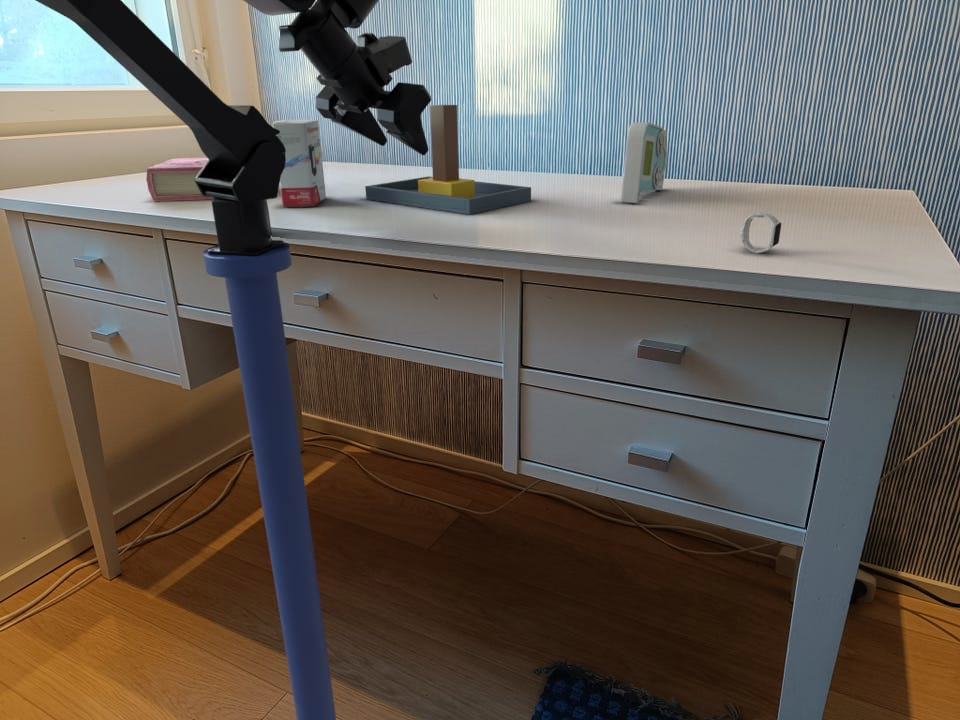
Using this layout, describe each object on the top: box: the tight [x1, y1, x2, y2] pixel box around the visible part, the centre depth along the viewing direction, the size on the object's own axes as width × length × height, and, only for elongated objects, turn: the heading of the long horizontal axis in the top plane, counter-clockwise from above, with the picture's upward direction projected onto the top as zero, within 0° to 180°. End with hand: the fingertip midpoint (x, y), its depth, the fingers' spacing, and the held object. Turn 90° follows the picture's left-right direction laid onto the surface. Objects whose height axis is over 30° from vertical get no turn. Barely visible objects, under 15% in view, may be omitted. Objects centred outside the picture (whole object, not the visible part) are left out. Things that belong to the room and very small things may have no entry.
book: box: [145, 157, 215, 202], centre depth 114 cm, size 14×15×5 cm
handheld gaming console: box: [620, 121, 669, 205], centre depth 103 cm, size 11×3×15 cm
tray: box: [364, 175, 532, 215], centre depth 103 cm, size 22×14×2 cm, turn 49°
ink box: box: [271, 119, 327, 208], centre depth 102 cm, size 9×5×12 cm, turn 179°
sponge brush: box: [418, 104, 475, 198], centre depth 101 cm, size 5×7×13 cm
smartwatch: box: [739, 211, 782, 254], centre depth 70 cm, size 4×2×4 cm, turn 52°
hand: (404, 148), depth 95 cm, fingers open, 9 cm apart
